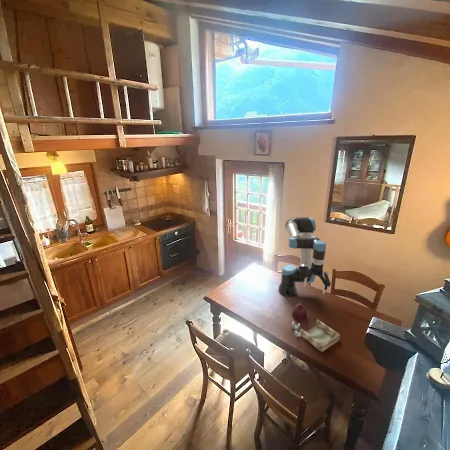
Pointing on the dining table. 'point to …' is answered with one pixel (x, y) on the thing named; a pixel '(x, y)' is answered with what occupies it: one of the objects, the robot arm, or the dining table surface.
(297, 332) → the clip
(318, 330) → the tray
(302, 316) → the vegetable
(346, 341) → the dining table surface
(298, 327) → the clip
